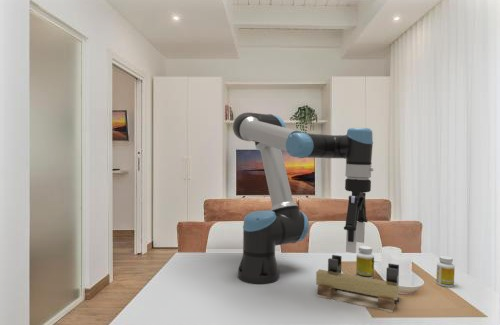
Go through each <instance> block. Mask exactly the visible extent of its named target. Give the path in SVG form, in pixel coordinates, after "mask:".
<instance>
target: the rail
mask: <svg viewBox="0 0 500 325" xmlns="http://www.w3.org/2000/svg"><path fill="white" fill-rule="evenodd" d="M315 277H316V279H315V280H316V281H315V282H316V283H315V284H316V285H318V286H319V285H322V286H327V287H332V288H337V289H342V290H347V291H352V292H358V293H363V294H368V295H373V296H378V297H383V298H388V299H393V300H397V299H398V297H399V285H398V283H394V282H388V281H386V280H381V279H378V278H377V279H376V278H373V279H371V278H366V277H360V276H356V275H354V274H353V275H352V274H347V273H342V272H341V273H337V272H331V271H328V270H324V269H319V268H318V270H317V271H316V276H315Z"/></svg>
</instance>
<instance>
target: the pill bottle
mask: <svg viewBox="0 0 500 325" xmlns="http://www.w3.org/2000/svg"><path fill="white" fill-rule="evenodd" d="M358 251H359V252H356V263H355V264H356V265H355V267H356V268H355V270H356V271H355V276H360V277H366V278H371V279H374V274H375V255H374V254H373V248H372V247H371V246H368V245H359V246H358Z"/></svg>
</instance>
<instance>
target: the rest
mask: <svg viewBox="0 0 500 325" xmlns="http://www.w3.org/2000/svg"><path fill="white" fill-rule="evenodd" d="M316 296H319V298H322V297H323V298H322V299H329V300H331V299H332V300H333V301H335V302H337V301H338V302H342V303H346V304H350V305H356V306H359V307H360V306H361V307H365V308H371V309H374V310H378V311H383V312H387V313H393V312H394V309H395V308H394V307H395V305H396V304H395V300H393V299H388V298H383V297H378V298H374V297H369V296H364V295H359V294H354V293H349V292H344V291H339V290H338V291H335V288H332V287H327V286H322V285H318V286H317V295H316Z"/></svg>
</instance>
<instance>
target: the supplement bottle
mask: <svg viewBox="0 0 500 325" xmlns="http://www.w3.org/2000/svg"><path fill="white" fill-rule="evenodd" d="M453 261H454V260H453V257H451V256H447V255H440V256H439V261H438V262H437V264H436V281H435V282H436V284H437V285H439V286H441V287H446V288H453V287H454V286H455V267H456V266H455V265H454V263H453Z"/></svg>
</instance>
